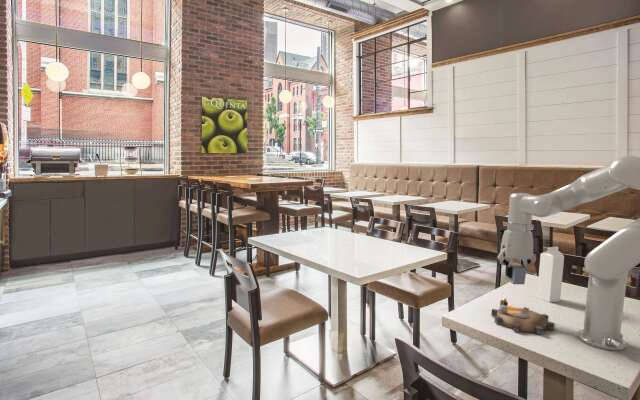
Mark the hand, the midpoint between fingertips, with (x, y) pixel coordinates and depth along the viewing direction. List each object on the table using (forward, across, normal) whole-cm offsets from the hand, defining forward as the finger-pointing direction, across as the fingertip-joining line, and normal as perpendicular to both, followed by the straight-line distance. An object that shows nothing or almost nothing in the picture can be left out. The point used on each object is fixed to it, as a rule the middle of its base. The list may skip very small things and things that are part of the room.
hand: (515, 276), depth 142 cm
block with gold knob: (+15, 0, -6) cm, 16 cm away
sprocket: (+15, 0, +6) cm, 16 cm away
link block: (+2, 0, 0) cm, 2 cm away
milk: (+15, -24, -16) cm, 33 cm away
